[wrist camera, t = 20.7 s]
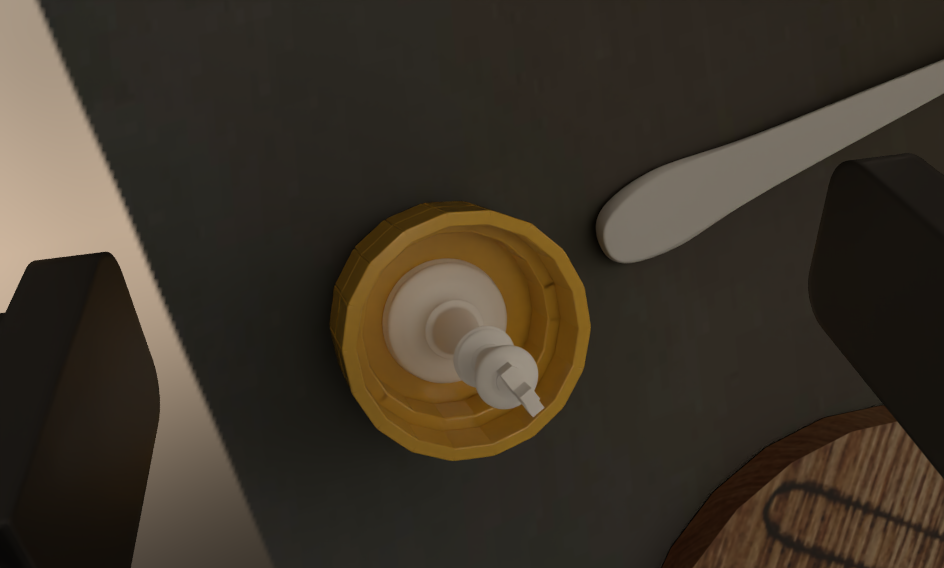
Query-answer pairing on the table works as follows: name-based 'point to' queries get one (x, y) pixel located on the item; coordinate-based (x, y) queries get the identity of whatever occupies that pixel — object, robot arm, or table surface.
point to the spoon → (747, 168)
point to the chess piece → (458, 333)
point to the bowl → (528, 325)
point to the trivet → (824, 503)
